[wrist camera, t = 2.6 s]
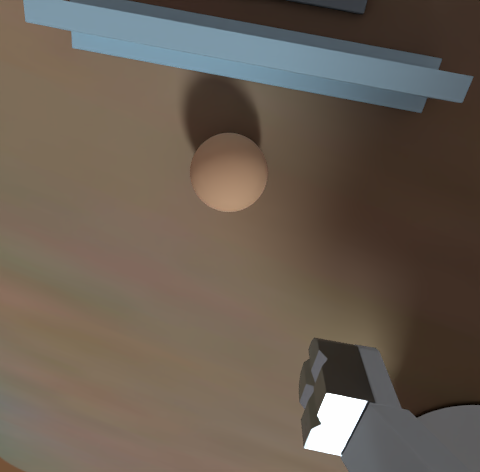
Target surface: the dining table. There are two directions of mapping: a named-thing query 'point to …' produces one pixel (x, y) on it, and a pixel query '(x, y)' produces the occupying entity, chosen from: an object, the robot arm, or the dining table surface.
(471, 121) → the dining table surface
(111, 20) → the low wall
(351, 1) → the mat
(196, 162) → the ball
